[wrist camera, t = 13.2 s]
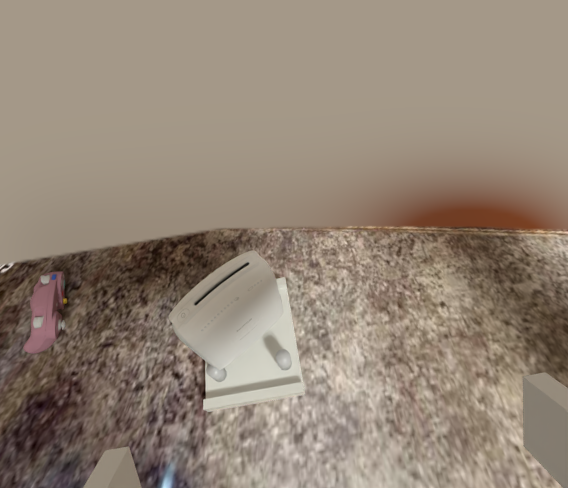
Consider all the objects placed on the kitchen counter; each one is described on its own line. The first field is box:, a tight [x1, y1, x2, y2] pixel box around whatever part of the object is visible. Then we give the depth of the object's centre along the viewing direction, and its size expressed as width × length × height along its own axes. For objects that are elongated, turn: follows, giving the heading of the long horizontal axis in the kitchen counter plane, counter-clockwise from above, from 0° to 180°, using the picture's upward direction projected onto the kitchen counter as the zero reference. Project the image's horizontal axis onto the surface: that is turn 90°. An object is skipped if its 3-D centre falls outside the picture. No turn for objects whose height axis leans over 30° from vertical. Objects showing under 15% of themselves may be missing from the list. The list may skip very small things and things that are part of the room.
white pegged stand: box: [203, 277, 305, 412], centre depth 39 cm, size 14×11×4 cm
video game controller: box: [24, 272, 67, 353], centre depth 43 cm, size 10×5×7 cm, turn 16°
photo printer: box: [168, 250, 283, 370], centre depth 32 cm, size 10×4×12 cm, turn 132°
